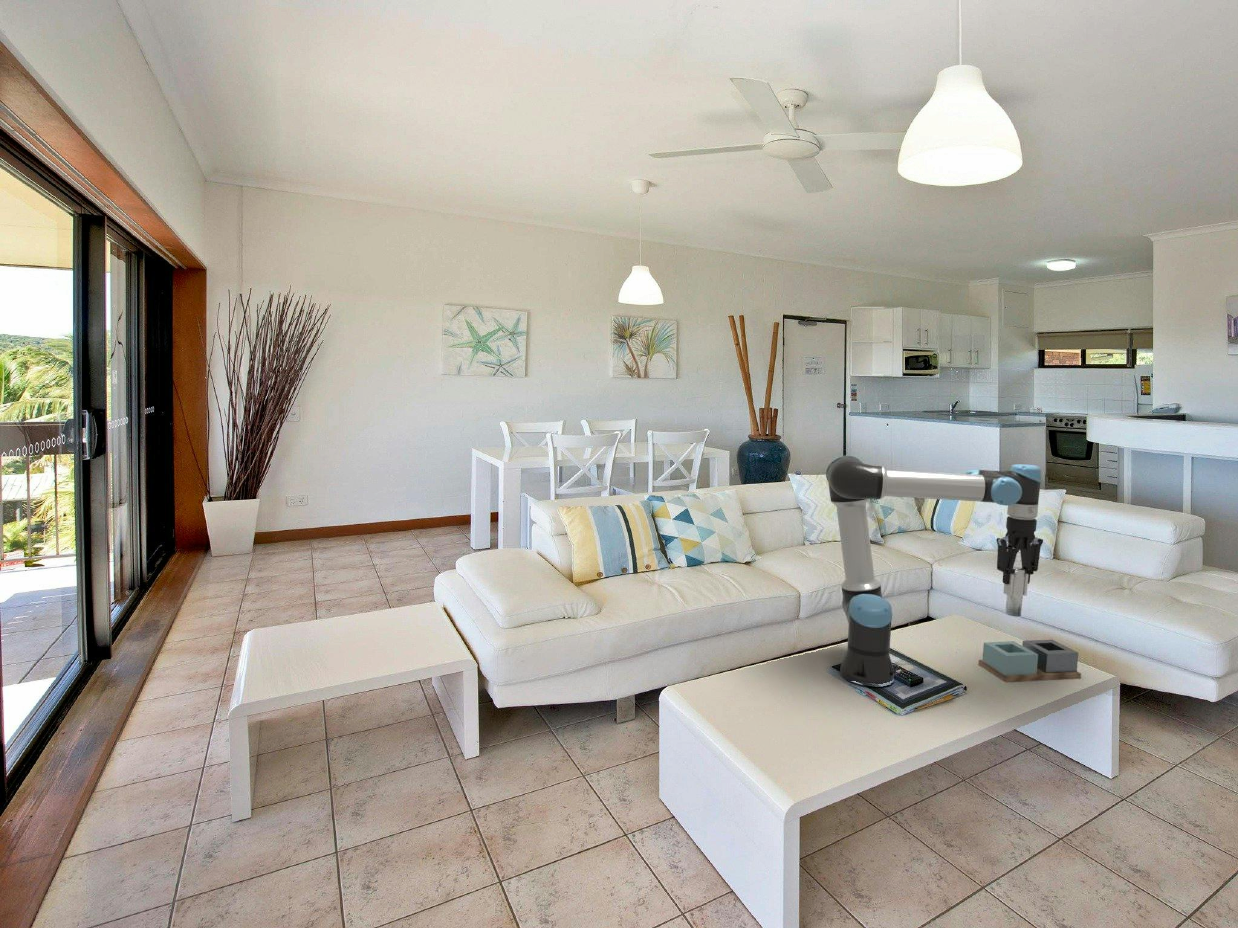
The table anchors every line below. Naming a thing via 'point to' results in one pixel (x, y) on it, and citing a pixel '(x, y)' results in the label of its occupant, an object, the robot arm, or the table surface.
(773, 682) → the table surface
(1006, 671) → the teal square holder
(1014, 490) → the robot arm
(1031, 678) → the tool board
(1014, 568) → the translucent peg
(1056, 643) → the socket block
